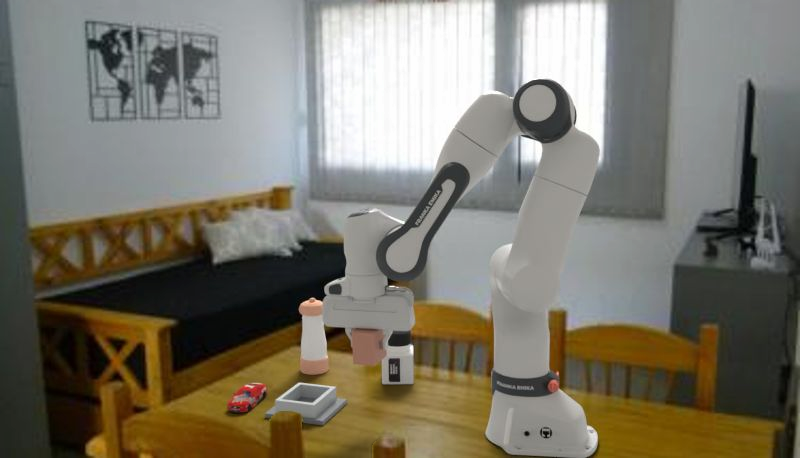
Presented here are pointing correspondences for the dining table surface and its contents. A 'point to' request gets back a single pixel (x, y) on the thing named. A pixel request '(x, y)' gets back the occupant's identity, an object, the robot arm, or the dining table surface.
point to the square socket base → (309, 403)
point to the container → (398, 359)
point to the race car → (247, 397)
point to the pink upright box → (367, 346)
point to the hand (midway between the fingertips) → (369, 347)
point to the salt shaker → (313, 339)
